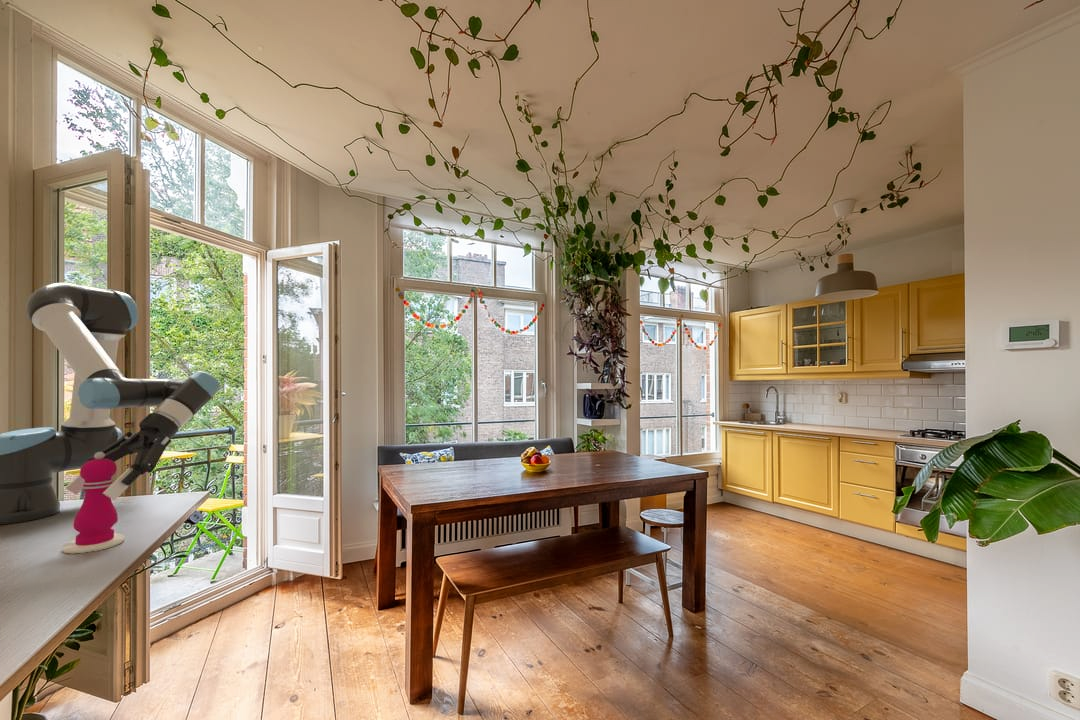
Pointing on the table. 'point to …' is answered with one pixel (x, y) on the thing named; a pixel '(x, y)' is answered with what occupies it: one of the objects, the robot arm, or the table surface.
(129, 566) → the table surface
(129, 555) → the table surface
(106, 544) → the cream dome
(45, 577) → the table surface
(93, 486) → the pepper mill
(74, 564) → the table surface
